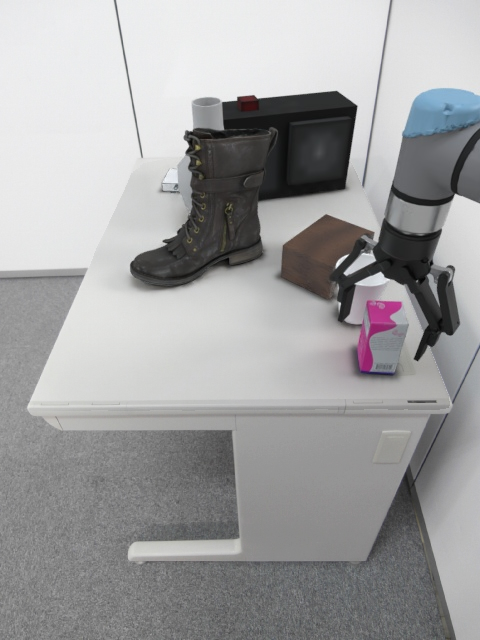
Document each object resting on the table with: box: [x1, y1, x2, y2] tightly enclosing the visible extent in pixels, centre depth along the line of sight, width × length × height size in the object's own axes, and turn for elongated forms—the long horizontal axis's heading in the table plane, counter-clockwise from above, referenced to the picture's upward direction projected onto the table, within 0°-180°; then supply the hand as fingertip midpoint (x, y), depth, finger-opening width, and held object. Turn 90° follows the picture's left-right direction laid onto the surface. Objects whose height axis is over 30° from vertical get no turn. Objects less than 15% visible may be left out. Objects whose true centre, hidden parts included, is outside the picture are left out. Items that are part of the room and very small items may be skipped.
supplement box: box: [356, 300, 410, 375], centre depth 72 cm, size 6×6×12 cm
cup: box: [336, 253, 391, 325], centre depth 81 cm, size 10×10×11 cm
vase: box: [176, 96, 224, 212], centre depth 103 cm, size 17×16×28 cm
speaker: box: [222, 90, 359, 202], centre depth 116 cm, size 15×35×24 cm, turn 104°
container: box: [161, 168, 180, 194], centre depth 127 cm, size 20×11×3 cm, turn 173°
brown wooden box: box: [280, 213, 376, 300], centre depth 93 cm, size 12×16×8 cm
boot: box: [129, 127, 278, 287], centre depth 89 cm, size 12×33×29 cm, turn 117°
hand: (379, 335), depth 72 cm, fingers open, 13 cm apart
